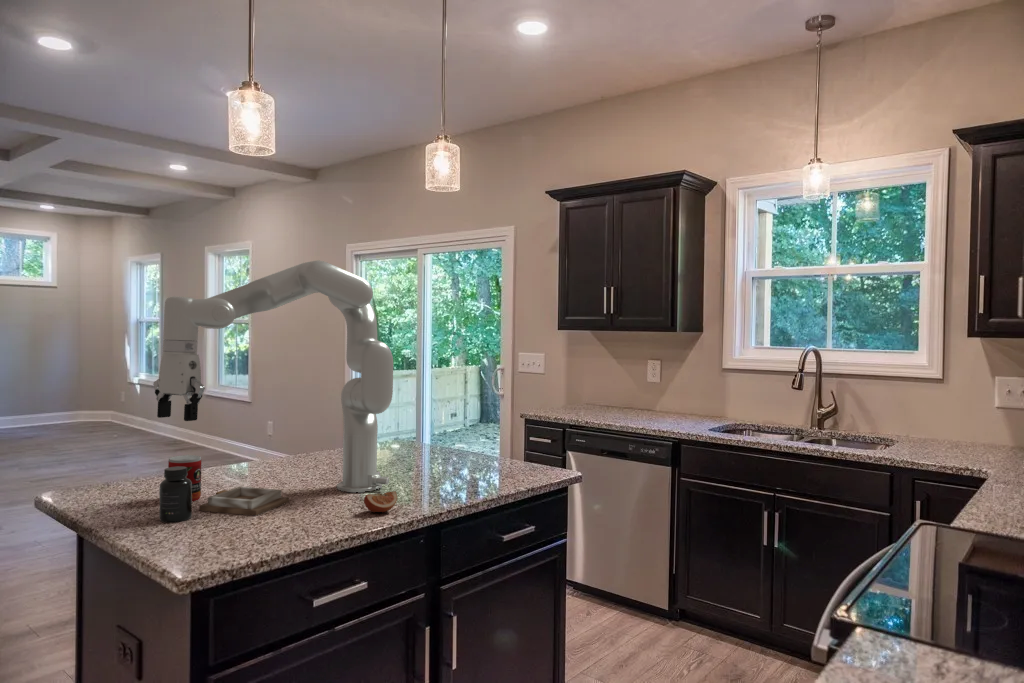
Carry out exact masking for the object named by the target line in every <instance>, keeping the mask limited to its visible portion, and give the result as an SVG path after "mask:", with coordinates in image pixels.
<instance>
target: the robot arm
mask: <svg viewBox="0 0 1024 683" xmlns="http://www.w3.org/2000/svg"><path fill="white" fill-rule="evenodd" d="M317 293H320V294H322V295H324V296H327V297H328V300H329V301H330V303H331V305H333V306H334V307H336V308H337V309H338V310H339V311H340V312H341V314H342V315H343V317H344V319H345V324H346V357H345V358H346V359H345V360H346V364H347V366H348V368H349V369H350V370H351V371H353V372H355V373H358V374H360V377H354V378H351V379H350V380H348V381H347V382H345V383H344V386H343V387H342V390H341V396H340V397H341V398H340V399H341V408H342V409H341V410H342V418H343V421H342V422H343V437H342V438H343V439H342V452H343V453H342V481H340V482H338V483H337V484H336V489H337V490H338V491H340V490H341V492H344V491H347V492H346V493H356V492H358V493H366V492H365V491H370V492H373V491H372V490H375V491H377V490H376V489H378V490H380V489H382V488H383V485H389V482H390V479H389V476H385V475H384V476H382V475H381V471H379V470H377V469H378V465H377V464H378V430H379V429H378V419H377V415H378V414H379V415H380V414H382V413H384V412H385V411H387V409H389V407H390V405H391V404H392V400H393V392H394V390H393V388H394V357H393V353H392V351H391V349H390V347H389V346H388V345H387V344H386V343H385V342H383V341H381V340H378V322H377V321H378V320H377V315H376V313H375V310H374V308H373V305H372V304H371V301H372V299H373V296H374V291H373V287H372V285H371V284H370V282H369V281H368V280H367V279H365V278H363V277H362V276H360V275H357V274H356V273H352V272H350V271H348V270H346V269H343V268H341V267H339V266H337V265H334V264H332V263H329V262H328V261H325V260H319V259H318V260H311V261H307V262H302V263H299V264H297V265H294V266H291V267H289V268H286V269H284V270H280V271H278V272H275V273H272V274H269V275H266V276H264V277H261V278H258V279H255V280H253V281H250V282H248V283H247V284H243V285H241V286H238V287H235V288H233V289H229V290H228V291H224V292H221V293H219V294H216V295H214V296H210V297H208V298H194V297H191V296H189V297H188V296H168V297H167V298H166V299H165V301H164V307H163V308H164V313H163V314H164V315H163V333H162V334H163V335H162V354H161V360H160V364H159V372H158V374H159V375H158V379H156V380H154V382H153V383H152V384H153V388H154V394H155V396H156V398H155V399H156V401H157V412H156V413H157V415H156V416H157V418H161V419H162V418H170V417H171V416H172V400H170V399H171V397H172V396H183V398H184V401H185V404H184V407H183V410H184V411H183V421H185V422H192V421H197V420H198V415H199V414H198V411H199V409H198V408H199V407H198V406H199V404H200V403H201V400H202V398H203V394H204V391H205V388H206V386H205V385H204V384H202V370H201V361H200V355H199V354H198V340H199V339H198V338H199V327H201V328H204V329H209V330H210V329H214V330H215V329H217V330H219V329H224V328H227V327H229V326H230V325H232V323H233V322H234V320H236V319H238V318H242V317H244V316H248V315H251V314H255V313H261V312H267V311H271V310H274V309H278V308H279V307H281V306H282V307H283V306H285V305H287V304H289V303H292V302H294V301H297V300H299V299H302V298H305V297H308V296H310V295H312V294H317ZM379 488H380V489H379Z"/></svg>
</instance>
